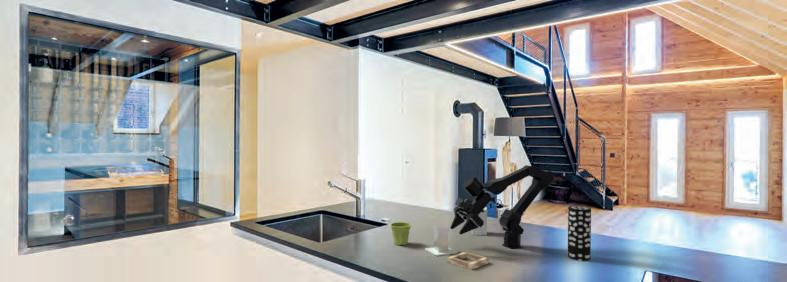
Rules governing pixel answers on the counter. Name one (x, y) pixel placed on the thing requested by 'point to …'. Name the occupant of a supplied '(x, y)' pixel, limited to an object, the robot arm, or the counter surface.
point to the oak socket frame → (476, 262)
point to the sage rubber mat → (433, 251)
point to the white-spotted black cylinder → (579, 233)
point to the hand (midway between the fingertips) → (455, 231)
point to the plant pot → (400, 232)
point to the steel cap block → (441, 238)
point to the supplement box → (484, 228)
